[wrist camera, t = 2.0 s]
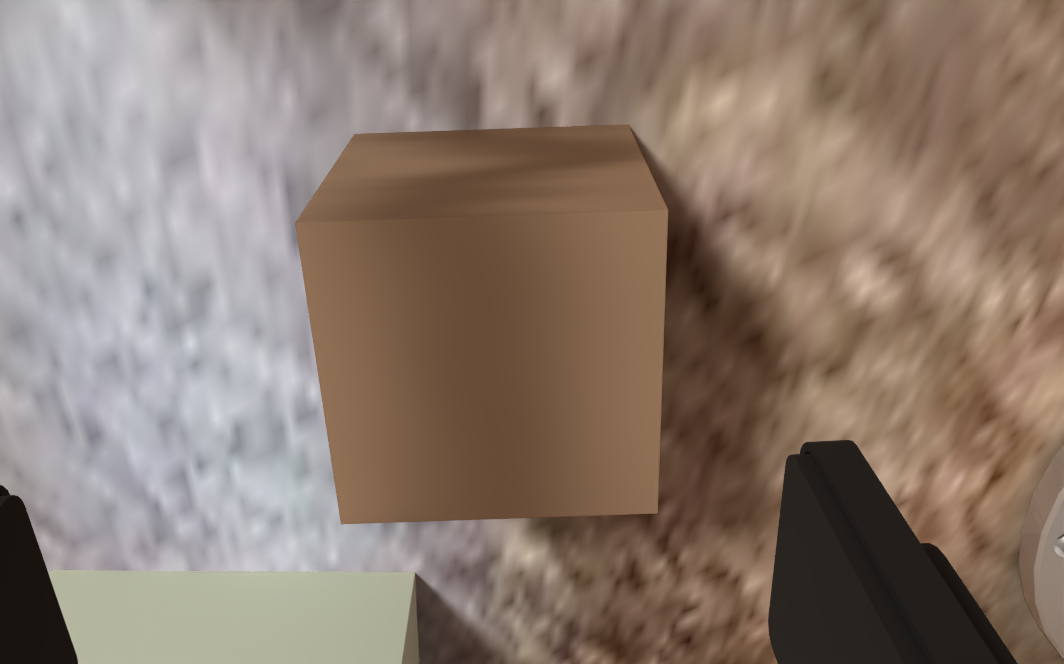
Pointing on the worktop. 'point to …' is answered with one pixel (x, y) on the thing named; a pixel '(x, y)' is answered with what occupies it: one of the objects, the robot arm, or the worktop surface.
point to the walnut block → (489, 323)
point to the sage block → (239, 617)
